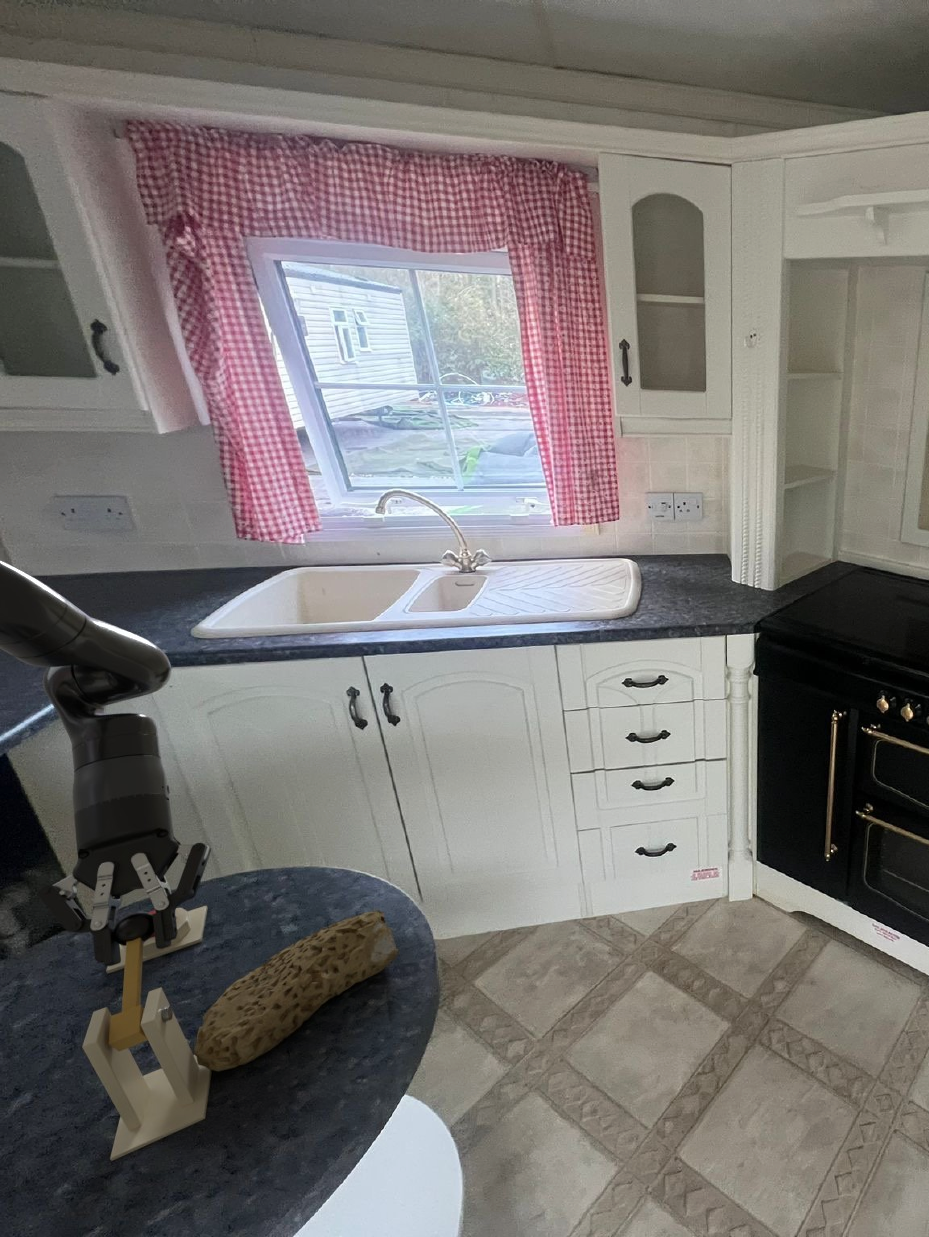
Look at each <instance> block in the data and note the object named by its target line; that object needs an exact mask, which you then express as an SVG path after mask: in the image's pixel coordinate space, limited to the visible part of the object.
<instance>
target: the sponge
mask: <svg viewBox="0 0 929 1237" xmlns="http://www.w3.org/2000/svg"><path fill="white" fill-rule="evenodd" d="M385 919H386V916H385V913H384V912H382V911H380V910H379V909H376V910H371V911H366V912H364V913H360V914H359V915H356V916H352V917H348V918H343V919H341V920H339V921H338V922H335V923H332V924H331V925H328V926H327V927H326V926H325V927H323V928H321V929H320V930H317V931H316V932H313V933H312V934H311V935H307V936H306V937H304V938H301V939H300V940H298V941H296V942H294V943H292V944H290V945H289V946H288V947H286V948H284V949H283V950H280V951H279V952H277V953H276V954H273V956H271V957H270V958H269V959H268V961H267V962H264V963H263V964H262V965H260V966H258V967H257V968H255V969H253V970H252V971H250V972H248V974H247V975H245V976H243V977H242V978H239V979H237V980H236V981H235V982H233V983H232V984H231V985H229V986H228V987H227V988H226V989H225V990H224V992H223V994H222V995H220V997H218V999H217V1000H216V1002H214V1003H213V1004H212V1005H211V1006H210V1008H209V1009H208V1010H207V1011H206V1012H205V1014H204V1015H203V1016H202V1020H203V1023H202V1026H199V1027H198V1031H197V1034H196V1043H195V1046H194V1049H193V1051H192V1054H193V1055H195V1056H196V1057H197V1062H198V1065H201V1066H205V1067H206V1068H208V1069H210V1070H212V1071H214V1072H221V1071H225V1070H232V1069H234V1068H236V1067H238V1066H242V1065H243V1066H244V1065H246V1064H248V1063H250V1062H253V1061H255V1059H257V1058H258V1057H261V1056H262V1055H264V1054H266V1053H267V1052H269V1051H271V1050H272V1049H274V1048H275V1047H276V1046H278V1045H279V1044H280V1043H281V1042H283V1041H284V1039H286V1038H288V1037H289V1036H291V1034H292V1033H294V1032H296V1030H297V1029H299V1028H301V1026H302V1025H303V1023H304V1022H305V1021H307V1020H308V1019H309V1018H310V1017H311V1016H312V1015H313V1014H314V1013H316V1011H318V1009H319V1008H320V1007H322V1006H323V1005H324V1004H325V1003H326V1002H327V1001H329V1000H330V999H332V998H335V996H339V995H341V994H342V993H343V992H344V991H346V990H348V989H350V988H351V987H352V986H354V985H355V984H357V983H360V982H363V981H365V980H366V979H368V978H370V977H372V976H374V975H377V974H379V973H381V972H382V971H383V970H384V969H385V968H387V967H388V966H389V965H390V964H392V963H393V961H394V960H395V959H396V958H397V956H398V955H399V952H400V951H399V948H398V947H397V945H396V943H395V937H394V934H393V931H392V930H391V928H390V927H388V926H387V924H386V920H385Z"/></svg>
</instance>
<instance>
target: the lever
mask: <svg viewBox="0 0 929 1237" xmlns="http://www.w3.org/2000/svg"><path fill="white" fill-rule="evenodd" d="M153 934H154V925H153V916H152V914H151V913H149V912H148V911H137V912H133V913H130V914H128V915H125V917H122V918H121V919H120V920H119V921H118V922H117V923H116V924H115V926H114V931H113V937H114V940H115V941H116V942H117V943H118V944H120V945H123V946H126V956H125V968H124V972H123V973H124V975H123V986H122V987H123V988H122V1003H121V1012H118V1013H115V1014H113V1015H112V1014H111V1020H110V1033H109V1044H110V1045H111V1046H112V1047H113V1048H115V1049H116V1050H117V1051H118V1052H119V1051H122V1050H124V1049H127V1048H129V1049H130V1048H132V1047H134V1046H136V1045H139V1044H142V1043H145V1042H147V1041H148V1039H147V1037H146V1035H145V1033H144V1031H143V1029H142V1027H141V1021H142V1017H143V1013H144V1009H145V1007H144V1006H143V1005H141V1001H142V1000H141V998H142V981H143V963H144V961H143V944H144V942H145V941H146V940H148V939H149V938H150V937H152V936H153Z"/></svg>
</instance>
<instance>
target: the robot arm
mask: <svg viewBox="0 0 929 1237" xmlns="http://www.w3.org/2000/svg"><path fill="white" fill-rule="evenodd" d="M0 649H1V650H2V651H3V652H6V653H7V654H9V655H10V656H12V657H13V658H15V659H17V660H19V661H20V662H23V663H25V664H27V665H30V666H33V667H39V668H46V669H45V671H44V673H43V677H42V687H43V690H44V692H45V695H46V696H47V698H48V700H49V701H50V703H51V705H52V707H53V708H54V710H55V711H56V713H57V715H58V717H59V719H60V721H61V723H62V725H63V727H64V729H65V731H66V733H67V736H68V738H69V740H70V743H71V753H72V762H73V784H72V792H71V793H72V806H73V807H72V808H73V818H74V820H73V821H74V830H75V841H76V842H75V844H76V853H77V854H76V855H77V862H76V864H75V866H74V868H73V870H72V873H71V875H69V876H66V877H65V878H63V879H60V881H58V882H56V883H54V884H46V885H43V886H41V887H40V888H39V889H38V891H37V895H38V896H39V898H40V899H41V900H42V902H43V903H44V904H45V905H46V907H47V908H48V909H49V910H50V912H51V913H52V914H53V915H54V917H55V919H57V921H58V922H59V923H60V924H61V925H62V927H63V928H64V930H65V931H66V932H69V933H76V934H77V933H78V934H83V933H84V934H85V933H90V934H92V939H93V949H94V959H95V961H96V962H97V963H100V964H101V963H103V965H104V966H105V967H108V966H113V965H115V964H118V963H120V962H121V955H120V944H118V943H117V942H116V941H115V940H114V937H113V931H114V928H115V926H116V925H117V918H118V913H119V909H120V907H121V905H122V901H123V896H124V895H127V894H130V893H131V892H133V891H136V890H144V891H145V893H146V894H147V895H148V897H149V899H150V902H151V903H152V906H153V908H154V910H155V911H156V913H155V914H152V916H153V925H154V934H155V943H156V947H157V948H158V949H163V948H166V947H169V946H171V940H173V939H176V937H177V934H178V931H177V923H176V915H175V910H176V908H179V906H180V905H181V904H183V903H185V902H186V901H189V900H193V899H194V898H195V897H196V896H197V893H198V890H199V887H200V884H201V882H202V878H203V876H204V872H205V869H206V867H207V863H208V861H209V858H210V855H211V852H212V848H211V846H209V845H207V844H206V843H203V842H196V843H194V844H181V842H180V841H179V840H177V839H176V836H175V834H174V826H173V817H172V810H171V802H170V786H169V784H168V778H167V775H166V771H165V768H164V765H163V762H162V755H161V754H162V753H161V746H160V738H159V731H158V730H159V729H158V726H157V723H156V721H155V719H154V718H153V717H150V716H149V715H147V714H143V713H137V712H124V713H122V712H121V713H110V714H109V713H108V714H107V710H106V707H107V706H108V705H113V704H117V703H120V702H124V701H128V700H129V701H130V700H132V699H136V698H140V697H144V696H147V695H151V694H153V693H155V692H158V691H160V690H161V689H163V688H164V687H165V686H166V685H167V684H168V683H169V681H170V679H171V676H172V665H171V662H170V660H169V657H168V656H167V654H166V653H165V652H164V651H163V650H162V649H161V648H160V647H159V646H158V645H157V644H155V643H153V642H152V641H150V640H149V639H147V638H145V637H142V636H140V635H139V634H136V633H133V632H130V631H128V630H126V629H124V628H121V627H118V626H116V625H113V624H111V623H108V622H106V621H103V620H100V619H98V618H94V617H92V616H89V615H88V614H87V613H85V612H84V611H83V610H82V609H80V608H78V607H77V606H76V605H74V603H72V602H71V601H69V600H68V598H65V597H64V596H62V595H61V594H59V592H57V591H55V590H54V589H52V588H51V587H50V586H48V585H47V584H45V583H43V582H42V581H41V580H39V579H37V578H36V577H34V576H32V575H30V574H29V573H27V572H25V571H23V570H21V569H19V568H17V567H16V566H14V565H11V564H10V563H8V562H5V561H3V560H1V559H0ZM179 855H180V856H181V857H180V860H181V863H183V864H185V865H184V866H183V867H184V868H183V870H182V873H181V876H180V879H179V882H178V884H177V887H176V890H175V891H173V892H172V891H171V886H170V884H169V882H168V880H167V877H166V874H167V873H168V871H169V869H170V868H171V866H172V865H173V863H174V862H175V860H176V859H177V857H178V856H179ZM80 883H81V884H82V885H84V886H85V887H87V888H88V889H90V890H92V891H93V892H94V895H93V898H92V904H91V906H92V909H93V910H92V916H91V918H88V917H87V915H86V914H85V913H84V911H83V910H82V909H81V907H80V906H79V905H78V904H77V903H76V902H75V900H74V898H75V897H76V896H77V895H78V890H77V886H78V885H79V884H80Z"/></svg>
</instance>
